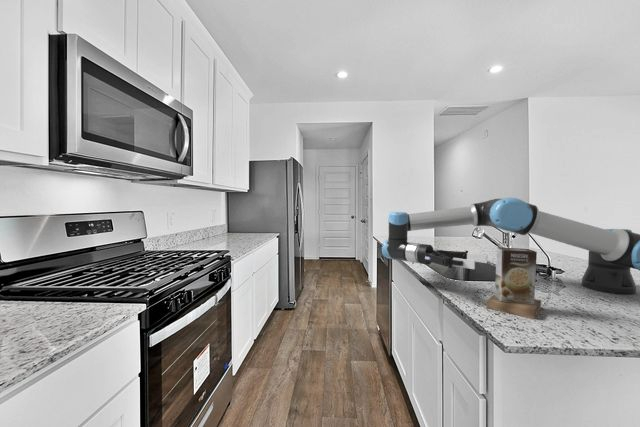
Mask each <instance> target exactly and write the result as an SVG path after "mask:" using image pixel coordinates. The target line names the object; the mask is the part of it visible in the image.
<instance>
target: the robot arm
mask: <svg viewBox="0 0 640 427" xmlns="http://www.w3.org/2000/svg"><path fill="white" fill-rule="evenodd" d="M469 225H472V226H473V227H482V226H483V227H491V228H492V227H493V228H496V229H500V230H504V231H507V232H511V233H514V234H518V235H521V236H526V235H529V234H532V235H535V236H539V237H542V238H544V239H549V240H552V241H555V242H559V243H561V244H566V245H568V246H572V247H576V248H579V249H582V250H585V251H588V257H587V258H588V259H587V260H588V263H587V265H588V266H587V268H586V270H585V272H584V274H583V276H582V278H581V286H582V287H585V288H588V289H591V290H595V291H600V292H606V293H612V294H620V295H621V294H623V295H633V294H636V293H637V284H636V283H635V280H634V277H633V275H632V273H631V269H634V270H637V271H639V272H640V234H639V233H636V232H633V231H632V230H631V229H623V228H601V227H598V226H594V225H590V224H587V223H583V222H579V221H576V220H573V219H568V218H565V217H562V216H559V215H555V214H551V213H548V212H545V211H541V210H540V209H539V208H538V206H537V205H535V204H532V203H528V202H526V201H525V200H522V199H520V198H517V197H504V198H493V199H490V200H486V201H482V202H478V203H477V202H476V203H471V204H470V205H469V206H464V207H456V208H448V209H447V208H446V209H440V210H430V211H424V212H416V213H415V212H414V213H407V212H405V211H403V212H402V211H390V212H389V214H388V239H387V240H385V241H383V243H382V246H381V253H382V255H383V257H385V258H386V259H390V260H394V261H395V260H396V261H403V262H409V263H411V264H421V265H426V266H429V265H431V264H437V265H440V266H442V267H448V269H453V267H456V268H457V267H458V268H464V269H470V270H476V263H483V264H488V254H481V253H471V252H469V250H465V251H458V250H456V251H454V250H443V249H437V250H434V248H433V245H431V244H425V243H419V242H418V243H416V242H408V232H411V231H412V232H413V231H420V230H421V231H422V230H423V231H424V230H430V229H441V228H449V227H458V226H459V227H460V226H469Z"/></svg>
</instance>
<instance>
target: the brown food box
mask: <svg viewBox="0 0 640 427" xmlns="http://www.w3.org/2000/svg"><path fill="white" fill-rule="evenodd" d="M537 254H538V252H537V251H535V250H533V249H530V248H521V247H519V248H516V247H505V246H504V247H502V246H501V247H500V246H497V247H496V262H495V263H496V264H495V265H496V266H495V279H494V280H495V281H494V282H495V284H494V294H495V296H496V297H497V298H498V299H499V300H500V301H502V302H512V303H521V304H531V305H534V299H535V294H536V293H535V292H536V275H537V274H536V272H537V257H538V256H537Z"/></svg>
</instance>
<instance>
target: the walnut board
mask: <svg viewBox="0 0 640 427" xmlns="http://www.w3.org/2000/svg"><path fill="white" fill-rule="evenodd" d="M541 308H542V300H540V299H536V298H534V305H531V304H521V303H512V302H502V301H500V300H499V299H498V298H497V297H496V296H495V293H494V294H493V295H491V297H489V298H488V299H487V300H486V309H488V310H494V311H497V312H501V313H506V314H510V315H514V316H519V317H522V318H523V317H524V318H527V319H532V320H535V318H536V317H537V315H538V314H539V312H540V311H541Z"/></svg>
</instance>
